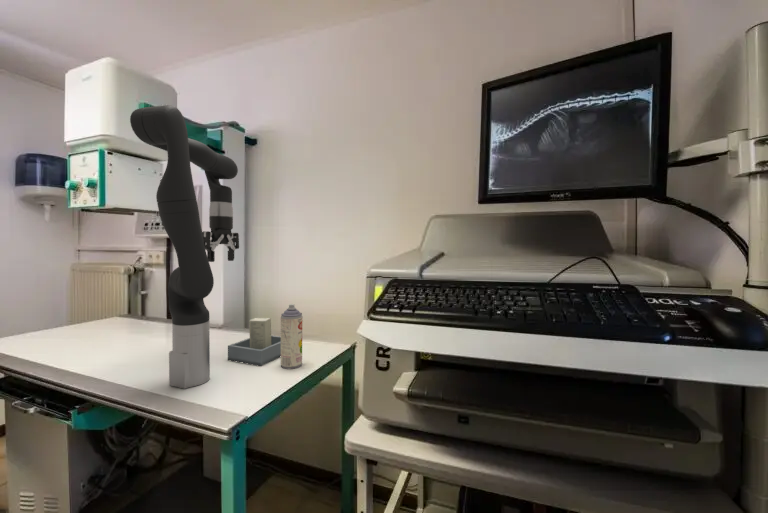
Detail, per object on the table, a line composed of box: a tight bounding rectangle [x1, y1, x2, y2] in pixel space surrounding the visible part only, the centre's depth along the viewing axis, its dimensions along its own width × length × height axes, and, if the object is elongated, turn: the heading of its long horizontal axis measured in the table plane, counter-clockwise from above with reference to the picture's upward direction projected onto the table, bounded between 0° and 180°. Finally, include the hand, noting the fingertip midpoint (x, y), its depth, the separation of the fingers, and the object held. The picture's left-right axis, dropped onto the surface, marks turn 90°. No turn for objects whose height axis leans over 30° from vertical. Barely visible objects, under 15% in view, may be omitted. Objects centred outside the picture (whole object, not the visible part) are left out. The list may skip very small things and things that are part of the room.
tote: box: [227, 334, 281, 367], centre depth 119 cm, size 16×14×5 cm
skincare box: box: [248, 317, 272, 350], centre depth 118 cm, size 6×4×12 cm
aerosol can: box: [280, 303, 303, 370], centre depth 110 cm, size 7×7×20 cm
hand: (221, 261), depth 120 cm, fingers open, 8 cm apart
